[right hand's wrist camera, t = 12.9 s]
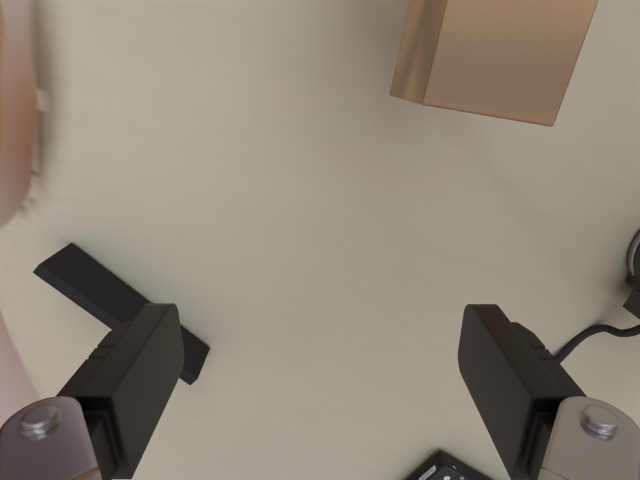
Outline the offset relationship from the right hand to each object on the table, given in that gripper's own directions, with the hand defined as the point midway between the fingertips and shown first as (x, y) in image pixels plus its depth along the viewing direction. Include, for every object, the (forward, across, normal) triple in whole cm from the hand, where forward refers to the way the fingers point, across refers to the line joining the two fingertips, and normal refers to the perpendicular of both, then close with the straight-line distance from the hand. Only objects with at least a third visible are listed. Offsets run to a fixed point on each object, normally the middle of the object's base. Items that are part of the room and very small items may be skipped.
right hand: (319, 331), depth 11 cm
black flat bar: (+28, +18, +15) cm, 36 cm away
